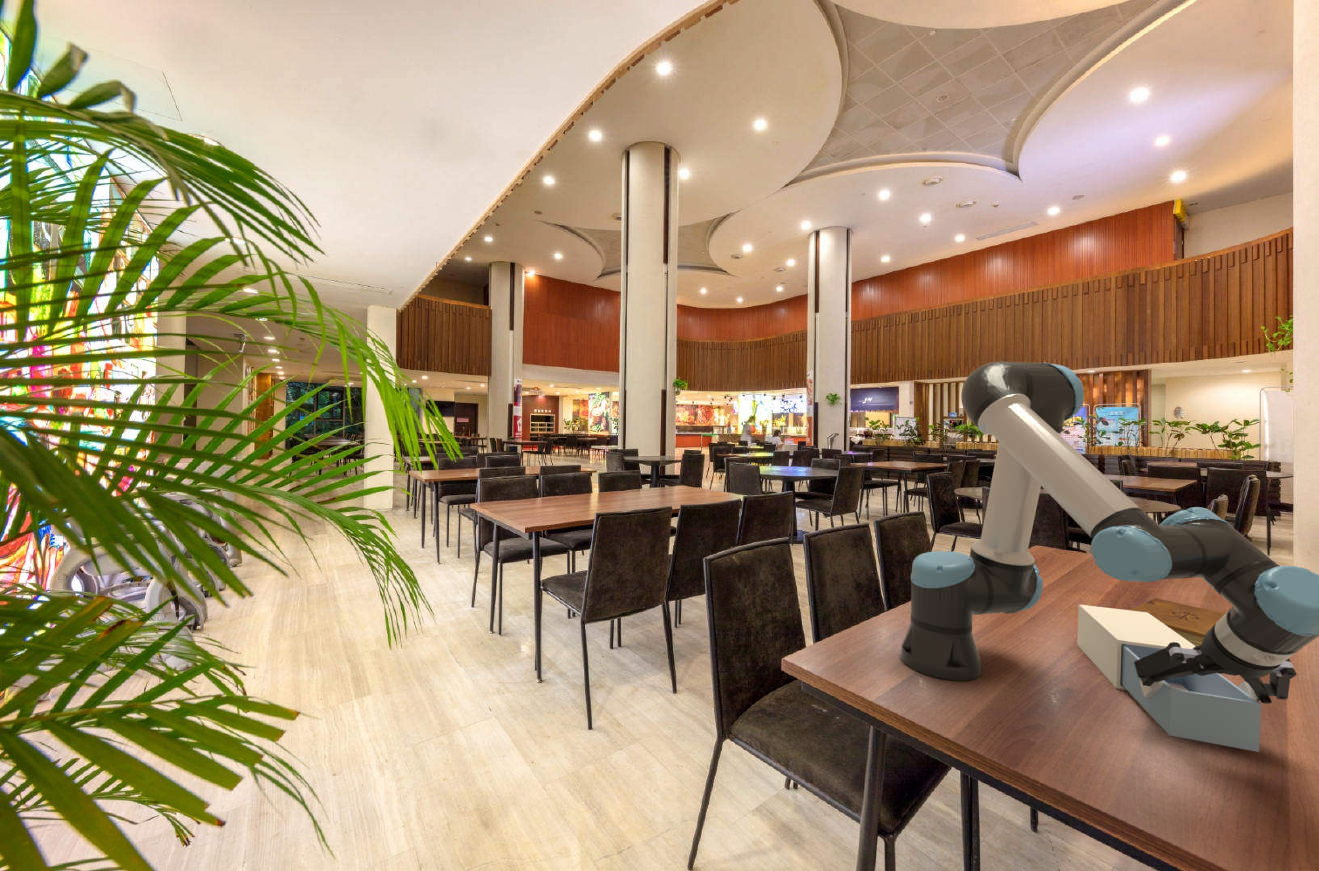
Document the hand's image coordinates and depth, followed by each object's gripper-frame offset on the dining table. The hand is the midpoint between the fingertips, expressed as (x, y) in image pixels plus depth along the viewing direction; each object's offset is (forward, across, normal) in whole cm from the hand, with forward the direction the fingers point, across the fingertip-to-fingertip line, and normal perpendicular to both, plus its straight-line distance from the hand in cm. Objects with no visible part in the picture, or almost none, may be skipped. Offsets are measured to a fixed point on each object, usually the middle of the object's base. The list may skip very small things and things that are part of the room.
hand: (1187, 696), depth 91 cm
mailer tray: (+6, 0, -1) cm, 6 cm away
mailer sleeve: (+18, 0, +12) cm, 22 cm away
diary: (+39, +20, +31) cm, 54 cm away
